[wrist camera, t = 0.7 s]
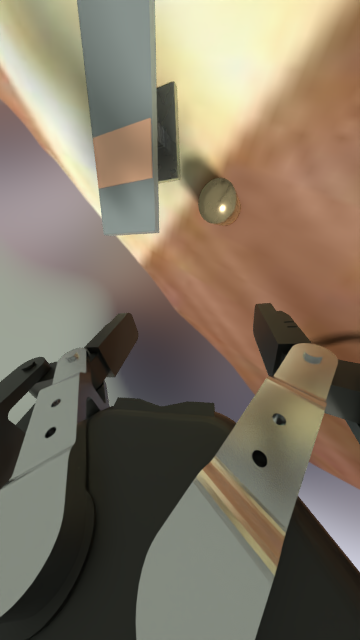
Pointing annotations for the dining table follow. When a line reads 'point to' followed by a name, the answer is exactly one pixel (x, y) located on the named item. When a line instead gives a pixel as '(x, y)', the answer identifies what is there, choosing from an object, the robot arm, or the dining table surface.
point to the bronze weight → (219, 202)
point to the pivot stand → (167, 133)
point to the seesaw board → (123, 110)
